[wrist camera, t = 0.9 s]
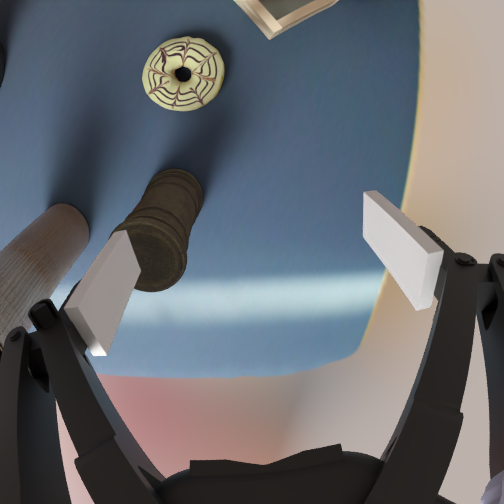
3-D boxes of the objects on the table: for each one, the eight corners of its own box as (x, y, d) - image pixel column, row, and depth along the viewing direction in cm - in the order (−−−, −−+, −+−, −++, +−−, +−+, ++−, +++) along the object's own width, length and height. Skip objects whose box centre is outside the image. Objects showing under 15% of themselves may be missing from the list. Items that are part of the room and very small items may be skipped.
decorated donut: (158, 36, 32) (151, 31, 28) (233, 47, 33) (233, 42, 30) (141, 103, 36) (133, 105, 33) (214, 116, 38) (212, 117, 35)
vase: (49, 194, 41) (-59, 291, 17) (95, 215, 44) (2, 334, 20) (42, 240, 46) (-43, 345, 22) (84, 261, 48) (13, 382, 24)
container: (191, 159, 41) (166, 204, 26) (212, 214, 46) (201, 284, 30) (137, 180, 42) (87, 234, 26) (159, 230, 46) (127, 303, 31)
